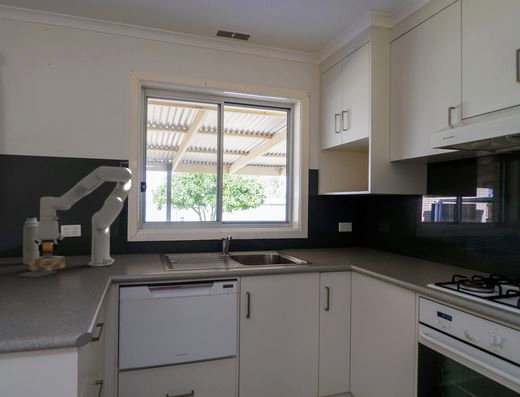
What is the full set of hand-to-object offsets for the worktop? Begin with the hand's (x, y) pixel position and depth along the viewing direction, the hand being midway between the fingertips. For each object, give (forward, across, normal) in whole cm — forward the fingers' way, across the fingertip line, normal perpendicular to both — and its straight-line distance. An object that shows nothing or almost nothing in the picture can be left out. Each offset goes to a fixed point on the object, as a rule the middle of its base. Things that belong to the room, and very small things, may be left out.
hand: (47, 251), depth 189 cm
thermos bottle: (+10, +8, -21) cm, 25 cm away
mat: (+10, +5, +14) cm, 18 cm away
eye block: (+10, 0, 0) cm, 10 cm away
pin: (+10, 0, 0) cm, 10 cm away
